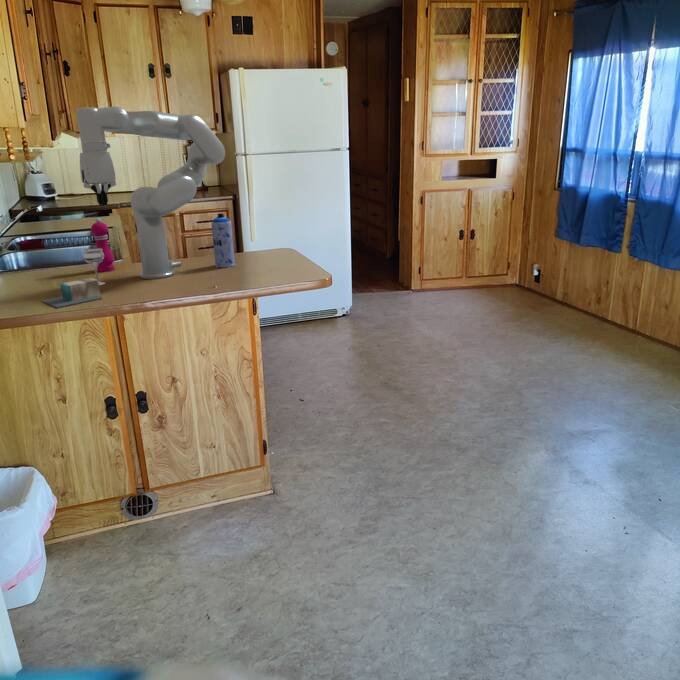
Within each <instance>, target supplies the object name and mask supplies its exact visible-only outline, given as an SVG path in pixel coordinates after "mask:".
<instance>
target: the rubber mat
mask: <svg viewBox="0 0 680 680" xmlns="http://www.w3.org/2000/svg"><path fill="white" fill-rule="evenodd" d="M102 299H103V298H102V297H101V296H100V295H99V296H94V297H90V298H85V299H80V300H75V301H70V302H69V301H67V300H64V299H63V296H58V297H54V298H48V299H44V300H42V302H43V303H45V304H46V305H49V306H50V307H53V308H55V309H60V308H61V309H62V308H67V307H71V306H75V305H80V304H84V303H89V302H94V301H98V300H102Z"/></svg>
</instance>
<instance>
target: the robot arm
mask: <svg viewBox="0 0 680 680" xmlns="http://www.w3.org/2000/svg"><path fill="white" fill-rule="evenodd" d="M75 113H76V114H75V115H76V119H77V121H76V122H77V126H78V132H79V138H80V144H81V151H82V152H80V153H79V171H80V172H79V173H80V179H81V180H80V181H81V182H82V183H83V188H85V189H88V190H89V189H90V190H91V191H92V192H94V193H95V195H96V196H95V197H96V201H97V202H96V203H97V204H98V205H99V206H102V207H103V206H108V202H109V199H108V194H107V193H108V192H109V190H110V188H113V187H116V186H117V182H116V180H117V179H116V172H115V167H114V163H113V162H114V161H113V160H112V156H111V153H110V151H108V149H110V148H111V144H110V143H107V141H106V135H105V133H114V134H123V135H124V134H125V135H134V136H141V137H146V138H147V137H150V138H159V139H160V138H161V139H168V140H177V141H192V142H193V143H191V145H190V146H189V148H188V151H187V152H188V153H187V160H186V162H185V164H183V166H180V167H179V168H177V169H175V170H173V171H172V172H169V173H168V174H166V175H163V176H162V177H161V178H160V179H159V181H158V183H157V187H152V186H151V187H150V186H142V187H137V188H136V189H135V190H134V191H133V192H132V193H131V196H130V205H131V209H132V213H133V216H134V219H135V224H136V231H137V233H136V234H137V240H138V246H139V253H140V259H141V260H140V261H141V268H142V271H141V272H139V273H138V277H139V278H140V279H143V280H145V279H146V280H147V279H149V280H154V279H163V278H168V277H171V276H174V275H175V270H174V269H175V268H178V267H179V268H180V267H181V266H182V262H181V261H172V260H171V261H170V260H169V254H168V253H169V251H168V244H167V238H166V229H165V228H166V227H165V222H164V219H163V217H164V216H167V215H169V214H171V213H173V212H174V211H177V210H178V209H179V208H181V207H183V206H184V205H186V204H189V202H191V201H192V200H193V199H194V197H195V196H196V194H197V191H198V189H197V187H198V186H199V185H201V183H202V182H203V181H204V180H205V177H206V173H207V165H213V166H214V165H219V164H220V163H222V162H223V161H224V159H225V158H226V149H225V146H224V144H223V143H222V141H221V140H220V139H219V137H218V136H217V135H216V133H214V131H213V130H212V129H211V128H210V126H209V125H208V124H207V123H206V121H204V120H203V119H202V117H200V116H198V115H196V114H186V115H185V114H184V115H183V114H176V113H167V112H161V111H153V110H141V111H140V110H138V111H132V110H131V111H127V110H125V109H124V108H122V107H119V106H107V107H106V106H105V107H100V108H99V107H93V106H92V107H91V106H90V107H89V106H88V107H87V106H86V107H79V108H77V109H76V112H75Z"/></svg>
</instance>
